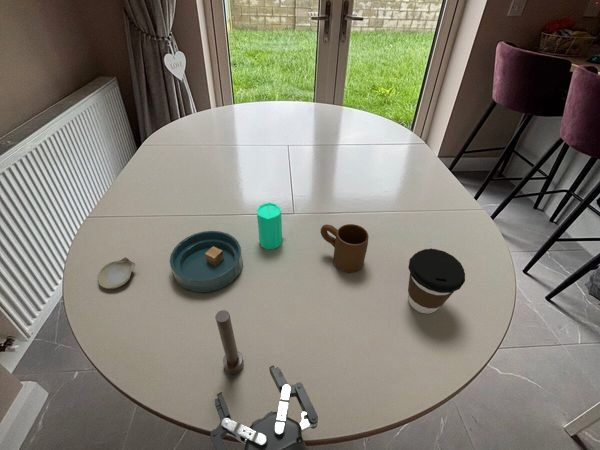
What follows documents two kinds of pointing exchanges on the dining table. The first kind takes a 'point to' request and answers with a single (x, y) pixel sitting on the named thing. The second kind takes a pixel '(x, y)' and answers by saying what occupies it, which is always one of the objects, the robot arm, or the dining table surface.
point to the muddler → (229, 343)
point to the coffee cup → (433, 279)
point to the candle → (269, 225)
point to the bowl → (195, 268)
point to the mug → (347, 245)
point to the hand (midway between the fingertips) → (246, 381)
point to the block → (214, 256)
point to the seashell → (115, 273)
